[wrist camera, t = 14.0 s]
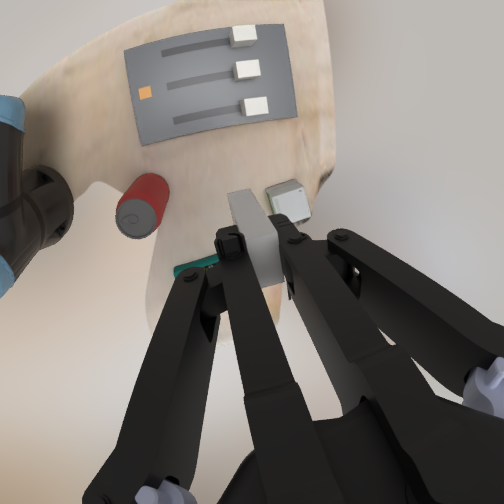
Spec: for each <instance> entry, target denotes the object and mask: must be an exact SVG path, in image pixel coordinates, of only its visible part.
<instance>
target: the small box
mask: <svg viewBox="0 0 504 504" xmlns="http://www.w3.org/2000/svg"><path fill="white" fill-rule="evenodd" d="M266 192H267V195H268V198H269V201H270V204H271V208H272V211H273V215H275V214H279V213H281V214H284V215H286V216H287V217H288V218H289V219H290V221H291V222H292V223H293V222H296V221H299V220H302V219H305V218H308V217H311V213H310V209H309V205H308V201H307V197H306V193H305V189H304V186H303V185H302V184H301V183H299V182H298V181H297V180H296V179H293V180H290V181H287V182H284V183H281V184H278V185H275V186H272V187H269V188H266Z"/></svg>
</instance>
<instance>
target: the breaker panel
mask: <svg viewBox="0 0 504 504" xmlns="http://www.w3.org/2000/svg"><path fill="white" fill-rule="evenodd" d="M124 56H125V63H126V70H127V76H128V82H129V88H130V93H131V99H132V104H133V109H134V114H135V119H136V124H137V128H138V133H139V137H140V142H141V146H144V145H148V144H151V143H155V142H159V141H163V140H166V139H170V138H174V137H179V136H183V135H187V134H192V133H196V132H201V131H206V130H211V129H216V128H221V127H226V126H232V125H238V124H244V123H251V122H258V121H266V120H274V119H283V118H293V117H298V116H297V108H296V100H295V92H294V85H293V77H292V71H291V64H290V58H289V51H288V45H287V39H286V34H285V28H284V24H264V25H242V26H232V27H227V28H219V29H212V30H205V31H199V32H194V33H189V34H184V35H179V36H174V37H170V38H166V39H162V40H158V41H154V42H151V43H147V44H144V45H140V46H137V47H134V48H131V49H128V50H125V51H124ZM257 59H258V60H259V66H260V72H261V76H259V77H257V78H255V79H247V80H239V81H235V79H234V73H233V67H232V66H233V65H234V63H235V62H238V61H247V60H257Z"/></svg>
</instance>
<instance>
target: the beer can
mask: <svg viewBox="0 0 504 504" xmlns="http://www.w3.org/2000/svg"><path fill="white" fill-rule="evenodd" d="M168 199H169V187H168V184H167V183H166V181H165V180H164V179H163V178H162V177H160V176H158V175H156V174H144V175H141V176H140V177H139V178H137V179H136V180H135V181H134V183H133V184H132V185H131V186H130V187H129V189H128V190H127V191H126V192H125V193H124V195H123V196H122V197H121V199H120V200H119V202H118V205H117V208H116V215H115V217H116V224H117V227H118V229H119V230H120V231H121V232H122V233H123V234H124V235H125V236H127V237H129V238H132V239H142V238H146V237H147V236H149V235H150V234H151V233H152V232H154V231H155V230H156V229H157V227H158V226H159V225H160V223H161V220H162V217H163V214H164V211H165V208H166V205H167V202H168Z"/></svg>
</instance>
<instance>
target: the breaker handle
mask: <svg viewBox="0 0 504 504" xmlns="http://www.w3.org/2000/svg"><path fill="white" fill-rule="evenodd" d="M232 67H233V73H234V79H235V81H239V80H247V79H255V78H257V77H259V76H261V72H260V66H259V60H258V59H257V60H247V61H238V62H235V63H234V65H233V66H232Z"/></svg>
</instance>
